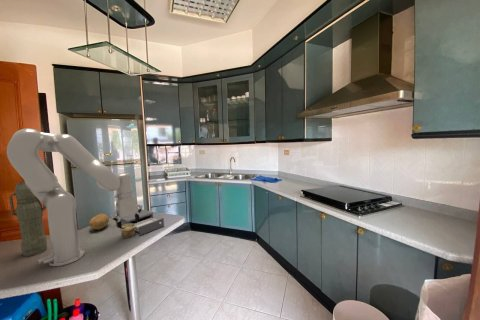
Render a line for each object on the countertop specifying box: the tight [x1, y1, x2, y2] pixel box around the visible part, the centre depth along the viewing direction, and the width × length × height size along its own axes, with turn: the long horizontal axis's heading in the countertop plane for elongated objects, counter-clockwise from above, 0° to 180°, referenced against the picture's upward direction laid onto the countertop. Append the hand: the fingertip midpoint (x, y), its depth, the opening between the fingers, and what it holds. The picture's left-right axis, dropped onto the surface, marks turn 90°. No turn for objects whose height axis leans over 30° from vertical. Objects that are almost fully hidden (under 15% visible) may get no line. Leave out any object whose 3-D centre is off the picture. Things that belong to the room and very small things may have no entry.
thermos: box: [9, 181, 48, 257], centre depth 100 cm, size 9×12×35 cm
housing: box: [115, 208, 154, 226], centre depth 132 cm, size 16×16×6 cm
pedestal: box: [120, 228, 136, 239], centre depth 115 cm, size 5×5×4 cm
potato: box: [88, 213, 110, 231], centre depth 126 cm, size 10×14×8 cm
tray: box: [134, 217, 165, 236], centre depth 125 cm, size 15×16×5 cm
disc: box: [120, 223, 135, 232], centre depth 115 cm, size 7×7×2 cm
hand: (129, 224), depth 116 cm, fingers open, 9 cm apart
